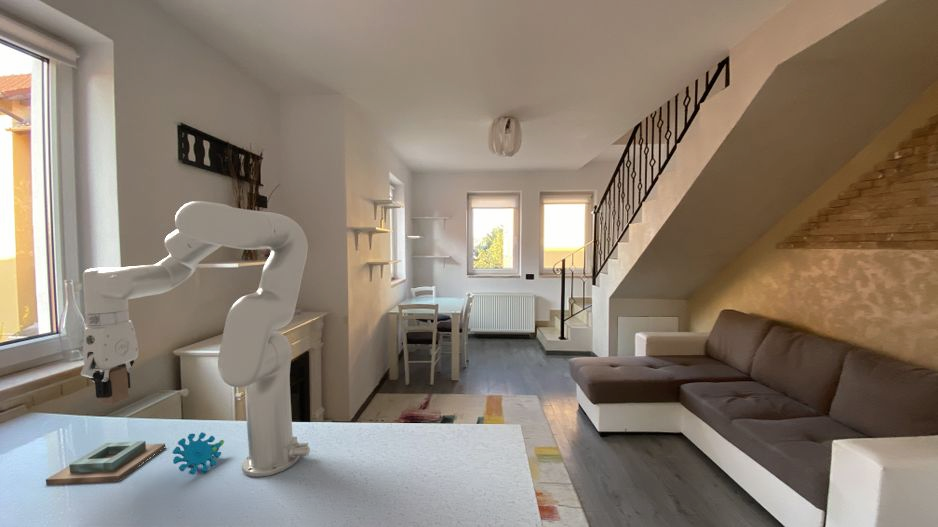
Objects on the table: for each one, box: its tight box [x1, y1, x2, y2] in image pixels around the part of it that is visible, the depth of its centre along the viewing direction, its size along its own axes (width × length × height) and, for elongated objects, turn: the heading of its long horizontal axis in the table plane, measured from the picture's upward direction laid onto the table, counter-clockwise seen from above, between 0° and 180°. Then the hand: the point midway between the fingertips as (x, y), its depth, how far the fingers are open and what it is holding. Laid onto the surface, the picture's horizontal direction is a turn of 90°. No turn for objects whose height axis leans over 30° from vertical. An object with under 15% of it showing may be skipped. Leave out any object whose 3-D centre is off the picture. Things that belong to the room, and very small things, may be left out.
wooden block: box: [98, 366, 130, 405], centre depth 94 cm, size 4×4×8 cm
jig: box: [45, 440, 166, 485], centre depth 94 cm, size 16×14×3 cm
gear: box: [172, 432, 225, 476], centre depth 92 cm, size 11×6×10 cm
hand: (113, 392), depth 94 cm, fingers closed on wooden block, 4 cm apart
